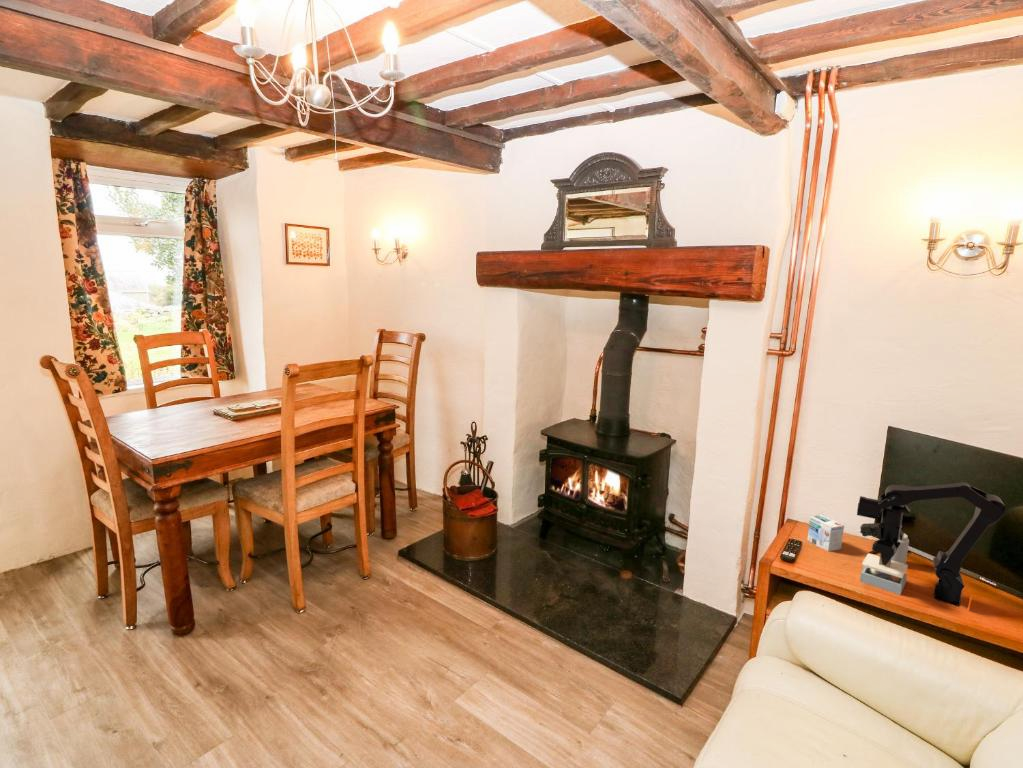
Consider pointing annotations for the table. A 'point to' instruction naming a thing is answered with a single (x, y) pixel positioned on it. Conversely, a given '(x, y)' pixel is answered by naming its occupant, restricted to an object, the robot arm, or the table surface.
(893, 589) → the box
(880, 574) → the ball
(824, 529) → the light bulb box
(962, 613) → the table surface
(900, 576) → the lid
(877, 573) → the ball
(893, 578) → the ball
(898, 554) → the can
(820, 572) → the table surface
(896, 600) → the table surface
